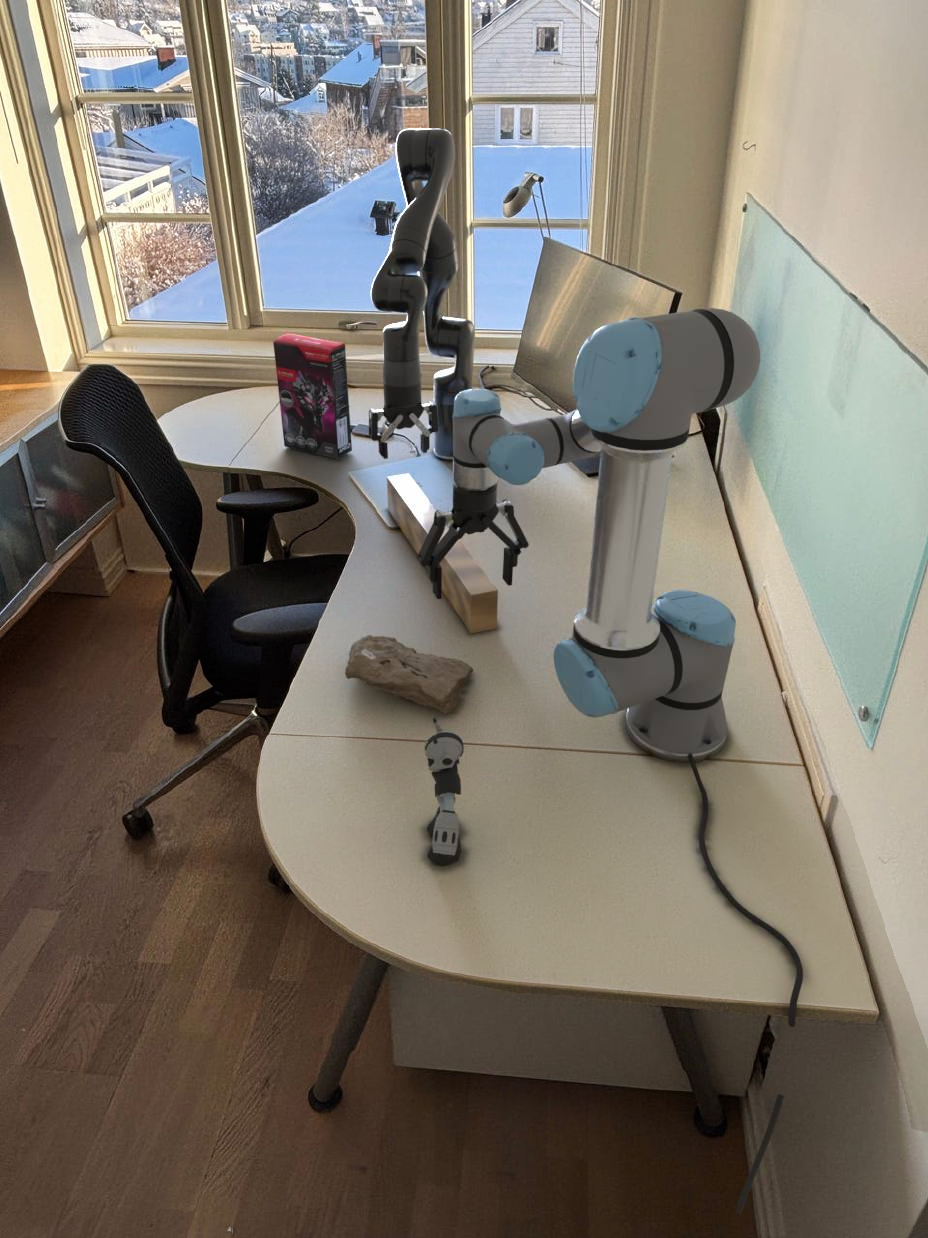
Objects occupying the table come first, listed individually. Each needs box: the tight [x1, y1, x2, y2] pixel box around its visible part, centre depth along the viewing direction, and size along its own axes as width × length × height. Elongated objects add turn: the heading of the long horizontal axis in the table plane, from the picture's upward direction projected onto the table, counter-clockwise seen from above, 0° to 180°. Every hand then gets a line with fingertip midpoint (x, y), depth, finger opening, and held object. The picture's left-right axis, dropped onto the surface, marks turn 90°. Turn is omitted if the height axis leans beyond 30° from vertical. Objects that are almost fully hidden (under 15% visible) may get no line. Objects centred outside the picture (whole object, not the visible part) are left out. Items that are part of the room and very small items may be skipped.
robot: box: [423, 717, 465, 867], centre depth 118 cm, size 20×5×20 cm, turn 3°
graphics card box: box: [272, 332, 353, 460], centre depth 223 cm, size 17×7×27 cm, turn 62°
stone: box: [344, 634, 474, 714], centre depth 150 cm, size 21×15×6 cm
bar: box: [386, 473, 499, 634], centre depth 183 cm, size 51×5×8 cm, turn 21°
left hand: (404, 454), depth 192 cm, fingers open, 8 cm apart
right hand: (472, 588), depth 167 cm, fingers open, 13 cm apart
